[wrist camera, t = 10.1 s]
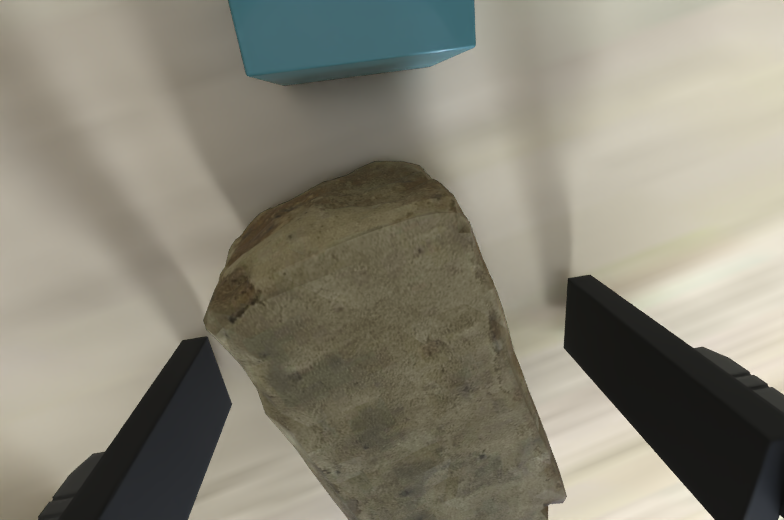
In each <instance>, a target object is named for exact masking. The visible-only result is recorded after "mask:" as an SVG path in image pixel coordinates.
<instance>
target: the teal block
mask: <svg viewBox="0 0 784 520" xmlns="http://www.w3.org/2000/svg"><path fill="white" fill-rule="evenodd" d="M228 2H229V7H230V11H231V15H232V19H233V23H234V27H235V31H236V35H237V39H238V43H239V48H240V52H241V56H242V60H243V64H244V68H245V72H246V75H247V76H249V77H253V78H257V79H260V80H264V81H268V82H272V83H276V84H279V85H283V86H286V85H293V84H301V83H309V82H316V81H324V80H332V79H340V78H347V77H355V76H363V75H370V74H378V73H386V72H393V71H401V70H409V69H416V68H424V67H430V66H433V65H435V64H437V63H440V62H442V61H444V60H446V59H449V58H451V57H453V56H456V55H458V54H460V53H463V52H465V51H467V50H470V49H472V48H474V47H475V45H476V37H475V8H474V0H228Z"/></svg>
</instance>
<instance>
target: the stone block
mask: <svg viewBox="0 0 784 520" xmlns="http://www.w3.org/2000/svg"><path fill="white" fill-rule="evenodd" d="M203 321H204V324H205V327H206V330H207V331H208V332H209V333H210V334H211V335H212V336H213V337H214V338H215V339H216V340H217V341H218V342H219V343H221V344H222V345H223V347H224V348H225V349H226V350H227V351H228V352H229V353H230V354H231V355H232V356H233V357H234V358H235V359H236V360H237V361H238V362H239V363H240V364H241V366H242V367H243V368H244V370H245V371H246V373H247V374H248V376H249V377H250V379H251V381H252V382H253V384H254V385H255V387H256V388H257V390H258V393H259V396H260V399H261V402H262V405H263V408H264V410H265V413H266V415H267V416H268V417H269V418H270V419H271V420H272V422H273V423H274V424H275V425H276V426H277V427H278V428H279V429H280V431H281V432H282V433H283V434H284V435H285V436H286V438H287V439H288V440H289V441H290V442H291V444H292V445H293V446H294V447H295V448H296V450H297V451H298V452H299V454H300V455H301V457H302V458H303V460H304V461H305V462H306V464H307V465H308V467H309V468H310V469H311V471H312V472H313V473H314V475H315V476H316V477H317V479H318V480H319V482H320V483H321V484H322V486H323V487H324V488H325V490H326V491H327V492H328V494H329V495H330V496H331V498H332V499H333V500H334V501H335V503H336V504H337V505H338V507H339V508H340V509H341V510H342V512H343V513H344V514H345V515H346V517H347V518H348V519H349V520H548V505H549V504H556V503H563V502H564V501H565V499H566V497H567V496H566V492H565V489H564V485H563V481H562V478H561V475H560V472H559V469H558V466H557V463H556V460H555V458H554V455H553V453H552V450H551V447H550V444H549V441H548V438H547V436H546V433H545V431H544V428H543V425H542V423H541V420H540V418H539V415H538V412H537V410H536V407H535V405H534V402H533V400H532V397H531V395H530V392H529V390H528V387H527V384H526V382H525V379H524V376H523V373H522V370H521V368H520V365H519V363H518V360H517V358H516V355H515V353H514V350H513V346H512V342H511V338H510V334H509V330H508V326H507V322H506V319H505V315H504V311H503V308H502V305H501V302H500V299H499V296H498V294H497V291H496V288H495V285H494V283H493V281H492V279H491V276H490V274H489V272H488V269H487V267H486V265H485V263H484V260H483V258H482V255H481V252H480V250H479V247H478V244H477V242H476V239H475V236H474V233H473V230H472V228H471V225H470V222H469V221H468V219H467V218H466V217H465V215H464V214H463V212H462V210H461V208H460V206H459V205H458V203H457V201H456V199H455V197H454V195H453V194H451V193H450V192H449V191H448V190H447V189H446V188H445V187H444V186H443V185H442V184H441V183H439V182H438V181H436V180H434V179H431V177H430V176H429V175H428V174H427V173H426V172H425V171H424V169H423V168H422V167H421V166H419V165H415V164H411V163H407V162H391V161H375V162H372V163H370V164H368V165H365V166H363V167H361V168H359V169H357V170H356V171H354V172H352V173H350V174H348V175H346V176H343V177H339V178H336V179H334V180H331V181H324V182H322V183H321V184H319V185H317V186H315V187H313V188H311V189H310V190H308V191H306V192H304V193H303V194H301V195H299V196H297V197H295V198H294V199H292V200H290V201H288V202H285V203H282V204H280V205H278V206H276V207H274V208H269V209H268V210H266V211H264V212H262V213H260V214H259V215H258V216H257V217H256V218H255V219H254V220H253V221H252V222H251V223H250V224H249V225H248V227H247V228H246V230H245V231H244V232H243V234H242V235H241V236H240V237H239V238H237V239H236V240H235V241H234V243H233V244H232V246H231V248H230V249H229V253H228V257H227V261H226V265H225V268H224V269H223V271H222V272H221V274H220V278H219V282H218V284H217V286H216V288H215V290H214V293H213V295H212V298H211V301H210V303H209V306H208V309H207V311H206V314H205V317H204V319H203Z"/></svg>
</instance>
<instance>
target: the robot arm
mask: <svg viewBox="0 0 784 520" xmlns="http://www.w3.org/2000/svg"><path fill="white" fill-rule="evenodd" d="M564 349H565V350H566V351H567V352H568V353H569V354H570V355H571V357H572V358H573V359H574V360H575V361H576V362H577V363H578V365H579V366H580V367H581V368H582V369H583V370H584V371H585V373H586V374H587V375H588V376H589V377H590V378H591V379H592V380H593V382H594V383H595V384H596V385H597V386H598V387H599V388H600V390H601V391H602V392H603V393H604V394H605V395H606V396H607V398H608V399H609V400H610V401H611V402H612V403H613V404H614V405H615V407H616V408H617V409H618V410H619V411H620V412H621V413H622V415H623V416H624V417H625V418H626V419H627V420H628V421H629V423H630V424H631V425H632V426H633V427H634V428H635V429H636V431H637V432H638V433H639V434H640V435H641V436H642V437H643V438H644V440H645V441H646V442H647V443H648V444H649V445H650V446H651V448H652V449H653V450H654V451H655V452H656V453H657V454H658V456H659V457H660V458H661V459H662V460H663V461H664V462H665V464H666V465H667V466H668V467H669V468H670V469H671V470H672V471H673V473H674V474H675V475H676V476H677V477H678V478H679V479H680V481H681V482H682V483H683V484H684V485H685V486H686V487H687V489H688V490H689V491H690V492H691V493H692V494H693V495H694V497H695V498H696V499H697V500H698V501H699V502H700V503H701V504H702V506H703V507H704V508H705V509H706V510H707V511H708V512H709V514H710V515H711V516H712V517H713V518H714V519H715V520H778V518H779V515H781V516H782V517H783V518H784V395H783V394H782V393H780V392H779V391H777V390H776V389H774V388H773V387H768V384H767V383H765V382H764V381H762V380H761V379H759V378H758V377H757V376H755V375H751V374H750V372H749V371H748V370H746V369H745V368H743V367H742V366H740V365H739V364H737V363H736V362H734V361H733V360H731V359H730V358H728V357H726V356H723V355H721V354H719V353H716V352H714V351H712V350H709V349H707V348H704V347H699V348H692V347H691V346H690V345H688V344H687V343H685V342H684V341H683V340H681V339H680V338H678V337H677V336H676V335H674V334H673V333H671V332H670V331H668V330H667V329H666V328H664V327H663V326H661V325H660V324H659V323H657V322H656V321H654V320H653V319H652V318H650V317H649V316H647V315H646V314H645V313H643V312H642V311H640V310H639V309H638V308H636V307H635V306H633V305H632V304H631V303H629V302H628V301H626V300H625V299H624V298H622V297H621V296H619V295H618V294H617V293H615V292H614V291H612V290H611V289H610V288H608V287H607V286H605V285H604V284H602V283H601V282H600V281H598V280H597V279H595V278H594V277H593V276H591V275H586V276H580V277H573V278H568V284H567V301H566V318H565V335H564ZM231 405H232V403H231V400H230V397H229V395H228V392H227V389H226V386H225V384H224V381H223V378H222V375H221V373H220V370H219V367H218V364H217V362H216V359H215V356H214V354H213V351H212V348H211V345H210V343H209V340H208V337H201V338H194V339H188V340H182V342H181V343H180V345H179V346H178V348H177V349H176V350H175V352H174V353H173V355H172V356H171V358H170V359H169V361H168V362H167V363H166V365H165V366H164V368H163V369H162V371H161V372H160V374H159V375H158V376H157V378H156V379H155V381H154V382H153V384H152V385H151V386H150V388H149V389H148V391H147V392H146V394H145V395H144V397H143V398H142V399H141V401H140V402H139V404H138V405H137V407H136V408H135V410H134V411H133V412H132V414H131V415H130V417H129V418H128V420H127V421H126V423H125V424H124V425H123V427H122V428H121V430H120V431H119V433H118V434H117V435H116V437H115V438H114V440H113V441H112V443H111V444H110V446H109V447H108V448H107V450H106V451H105V452H101V453H95V454H92V455H91V456H90V457H89V458H88V459H87V460H85V461H84V462H83V463H82V464H81V465H80V466H79V467H78V468H76V469H75V470H74V471H73V472H72V473H71V474H70V475H69V476H68V477H67V479H66V480H65V481H64V483H63V484H62V485H61V487H60V488H59V489H58V491H57V492H56V493H55V495H54V496H53V500H52V502H49V503H48V504H47V506H46V507H45V508H44V510H43V511H42V512H41V514H40V515H39V516H38V520H188V518H189V515H190V512H191V510H192V507H193V505H194V502H195V499H196V497H197V494H198V491H199V489H200V486H201V484H202V481H203V478H204V476H205V473H206V471H207V468H208V465H209V463H210V460H211V458H212V455H213V452H214V450H215V447H216V445H217V442H218V439H219V437H220V434H221V432H222V429H223V426H224V424H225V421H226V419H227V416H228V413H229V411H230V408H231Z"/></svg>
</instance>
